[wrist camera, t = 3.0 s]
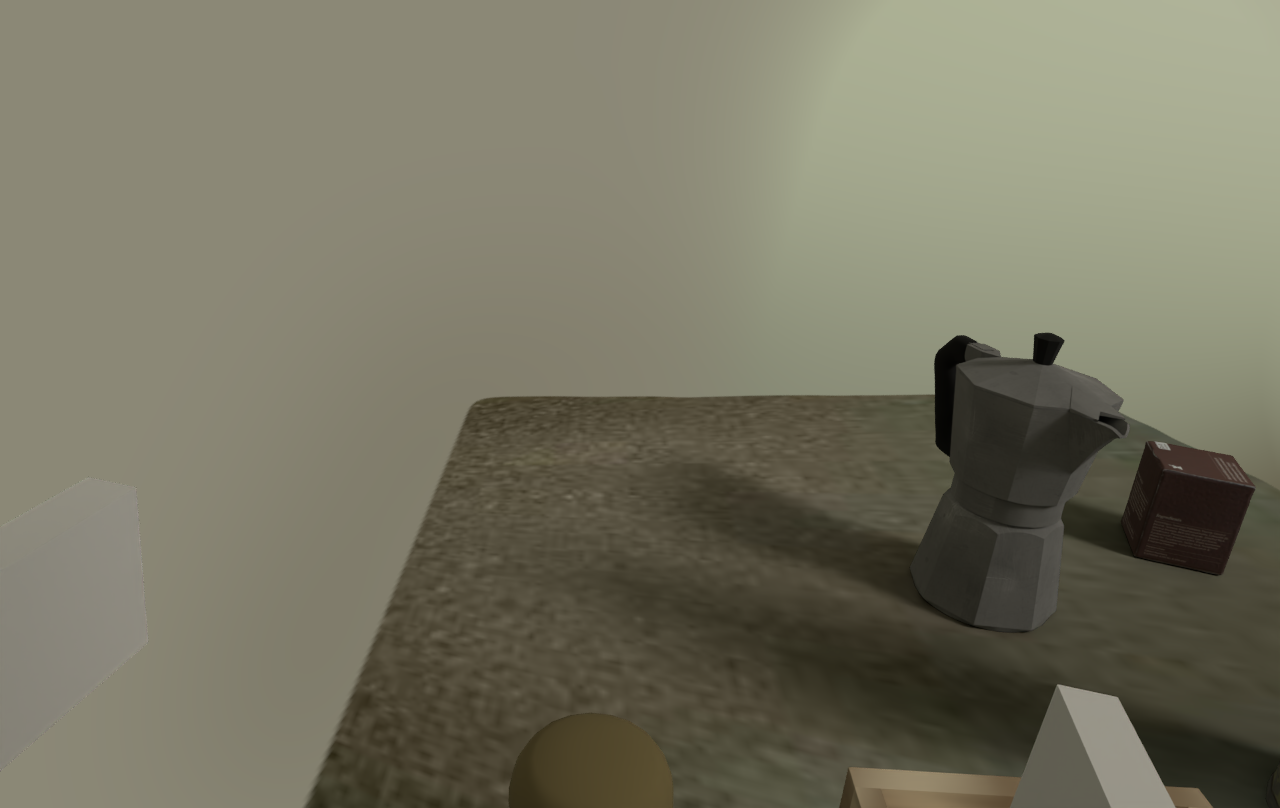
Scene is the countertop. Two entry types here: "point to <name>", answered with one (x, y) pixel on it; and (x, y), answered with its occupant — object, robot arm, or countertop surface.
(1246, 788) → the countertop surface
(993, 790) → the oak stand
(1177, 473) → the box
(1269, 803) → the thermos
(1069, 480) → the coffeepot
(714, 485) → the countertop surface
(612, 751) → the cork
